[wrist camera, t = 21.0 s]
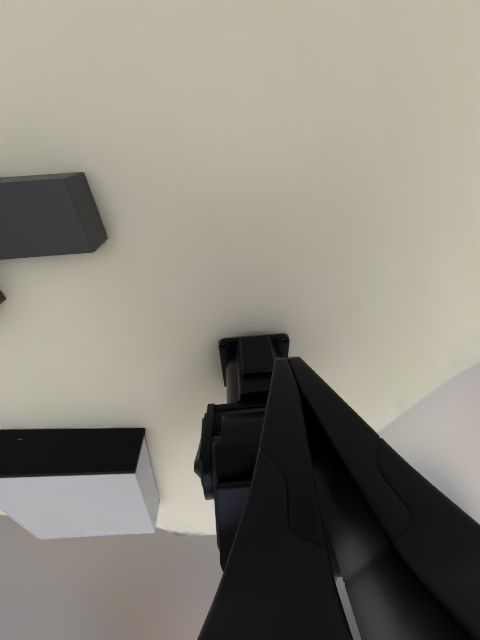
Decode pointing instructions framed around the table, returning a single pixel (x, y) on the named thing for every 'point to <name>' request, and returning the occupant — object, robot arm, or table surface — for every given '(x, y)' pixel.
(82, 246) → the slat
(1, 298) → the brown and yellow block
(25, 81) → the table surface
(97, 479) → the disc drive
